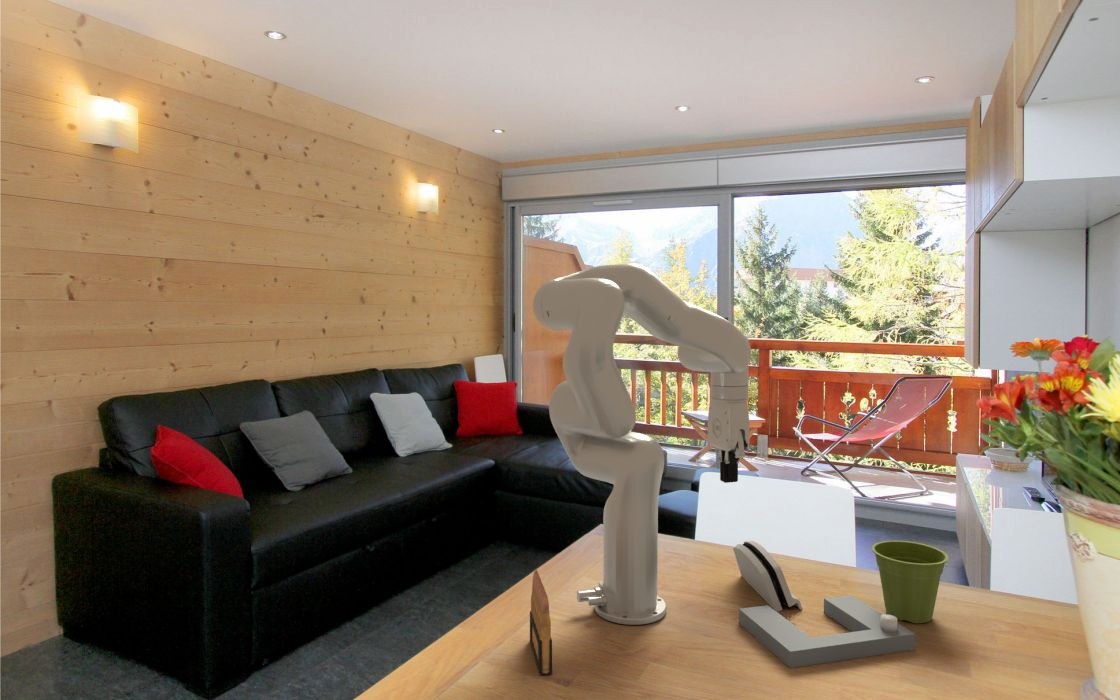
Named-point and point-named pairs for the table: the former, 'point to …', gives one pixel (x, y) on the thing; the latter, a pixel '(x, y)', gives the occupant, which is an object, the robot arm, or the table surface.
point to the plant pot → (909, 578)
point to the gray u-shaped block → (799, 649)
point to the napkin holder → (540, 627)
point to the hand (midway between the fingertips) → (728, 481)
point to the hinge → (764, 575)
